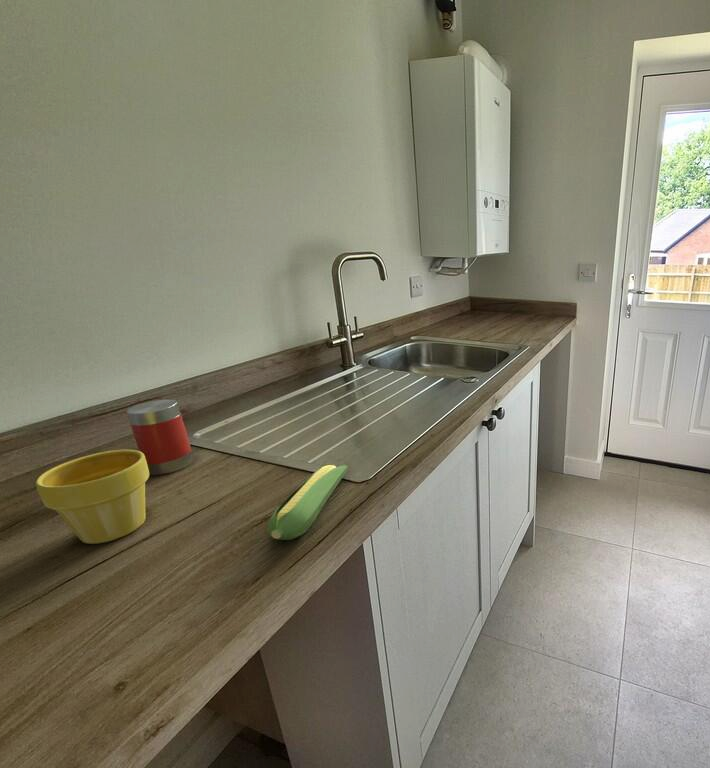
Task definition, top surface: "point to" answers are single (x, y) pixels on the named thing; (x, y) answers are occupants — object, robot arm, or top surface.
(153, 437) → the tin can
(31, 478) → the top surface
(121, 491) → the flower pot
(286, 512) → the edible corn
